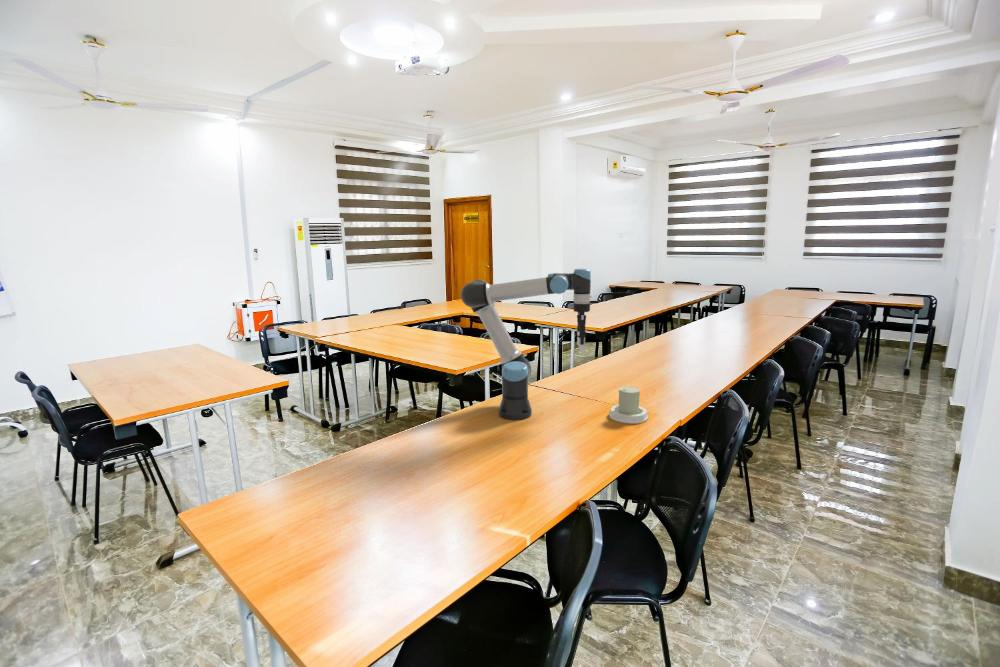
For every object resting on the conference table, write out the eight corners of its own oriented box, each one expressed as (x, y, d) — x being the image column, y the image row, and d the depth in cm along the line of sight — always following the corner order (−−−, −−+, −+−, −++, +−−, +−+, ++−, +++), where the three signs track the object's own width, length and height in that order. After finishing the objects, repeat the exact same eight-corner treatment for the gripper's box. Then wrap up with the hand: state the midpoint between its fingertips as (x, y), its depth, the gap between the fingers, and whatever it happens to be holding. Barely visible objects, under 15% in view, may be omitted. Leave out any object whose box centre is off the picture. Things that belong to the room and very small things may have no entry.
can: (613, 412, 225) (614, 387, 222) (629, 409, 228) (630, 384, 226) (626, 419, 216) (627, 392, 214) (643, 415, 220) (644, 389, 218)
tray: (611, 423, 215) (611, 416, 214) (607, 409, 232) (607, 403, 231) (651, 424, 213) (651, 417, 213) (644, 410, 230) (644, 404, 229)
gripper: (592, 306, 214) (591, 354, 218) (588, 299, 239) (587, 342, 243) (574, 306, 215) (574, 354, 219) (572, 299, 239) (571, 342, 243)
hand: (580, 348), depth 231 cm, fingers open, 13 cm apart
